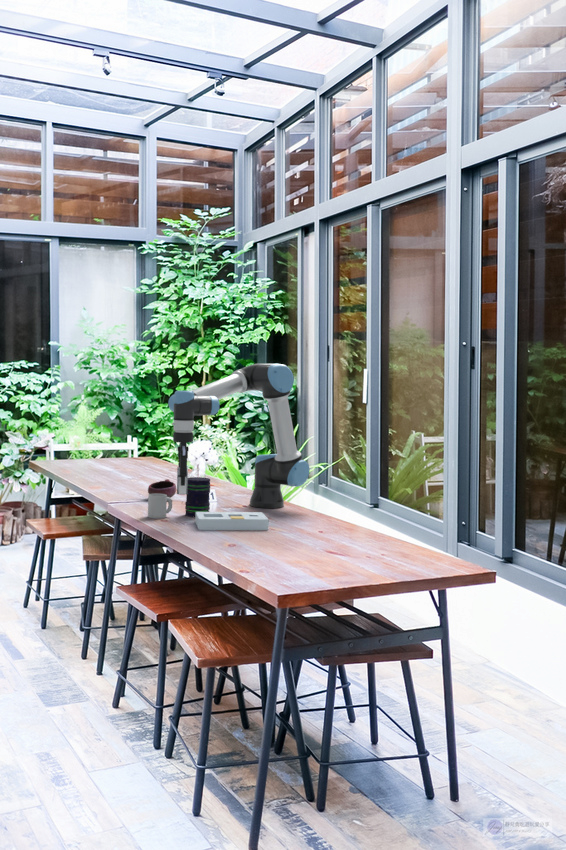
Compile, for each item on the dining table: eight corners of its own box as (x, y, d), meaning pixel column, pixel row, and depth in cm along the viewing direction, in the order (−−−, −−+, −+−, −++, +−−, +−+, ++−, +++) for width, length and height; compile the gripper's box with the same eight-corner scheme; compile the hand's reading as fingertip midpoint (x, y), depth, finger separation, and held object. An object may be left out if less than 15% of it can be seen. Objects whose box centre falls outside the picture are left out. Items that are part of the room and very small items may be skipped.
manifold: (195, 522, 314) (195, 510, 314) (261, 522, 319) (261, 511, 319) (198, 529, 298) (199, 518, 298) (268, 530, 303) (268, 518, 303)
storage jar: (211, 514, 333) (212, 477, 333) (206, 518, 324) (208, 480, 323) (187, 512, 334) (188, 476, 334) (182, 516, 325) (183, 479, 324)
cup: (144, 516, 323) (145, 493, 322) (168, 514, 328) (168, 492, 327) (151, 519, 317) (152, 496, 316) (175, 517, 322) (176, 495, 321)
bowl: (179, 501, 364) (179, 483, 363) (150, 502, 359) (151, 484, 358) (170, 496, 379) (170, 479, 378) (142, 496, 374) (143, 479, 373)
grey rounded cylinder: (176, 492, 309) (177, 466, 308) (187, 492, 310) (187, 466, 309) (177, 494, 305) (177, 468, 304) (187, 494, 306) (188, 468, 305)
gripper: (172, 429, 314) (170, 489, 315) (174, 433, 297) (173, 496, 298) (191, 429, 315) (190, 489, 317) (195, 433, 298) (193, 496, 300)
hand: (182, 492), depth 307 cm, fingers closed on grey rounded cylinder, 4 cm apart
